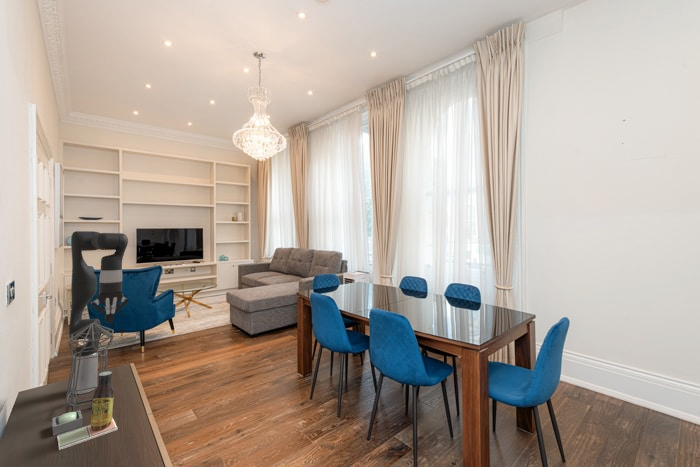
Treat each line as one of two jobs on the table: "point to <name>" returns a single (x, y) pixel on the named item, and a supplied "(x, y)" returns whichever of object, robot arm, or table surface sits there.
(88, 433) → the colouring card
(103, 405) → the sauce bottle
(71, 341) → the geometric lantern
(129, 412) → the table surface
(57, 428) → the button housing
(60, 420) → the button
